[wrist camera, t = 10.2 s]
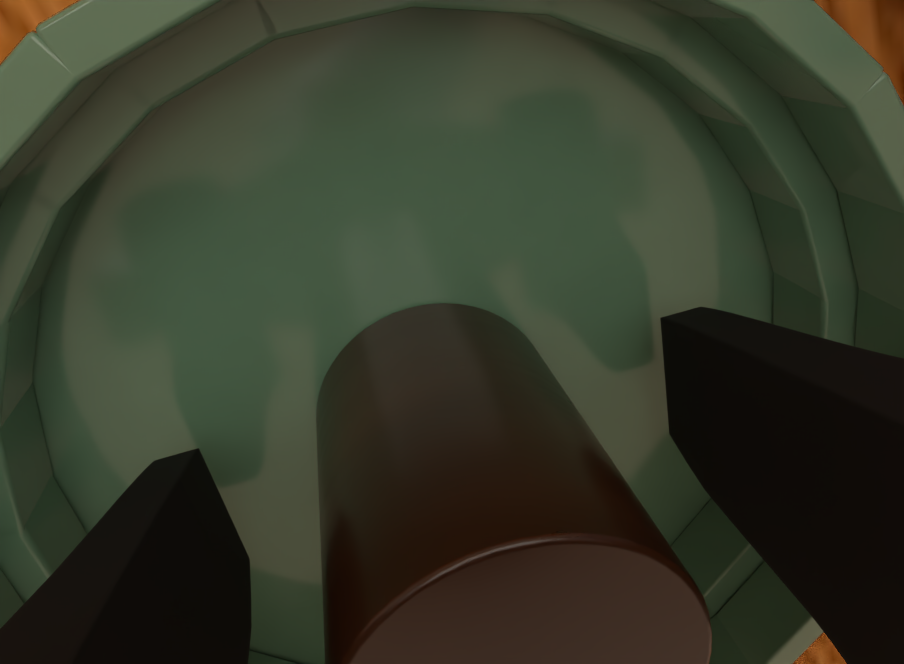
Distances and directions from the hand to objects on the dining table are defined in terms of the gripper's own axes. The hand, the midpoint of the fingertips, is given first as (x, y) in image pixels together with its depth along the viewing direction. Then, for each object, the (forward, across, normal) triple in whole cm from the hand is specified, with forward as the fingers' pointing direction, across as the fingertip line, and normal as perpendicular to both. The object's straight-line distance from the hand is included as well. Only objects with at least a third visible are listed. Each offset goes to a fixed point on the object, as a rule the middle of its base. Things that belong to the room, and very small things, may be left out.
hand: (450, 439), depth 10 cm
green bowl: (+1, 0, 0) cm, 1 cm away
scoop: (+1, 0, +3) cm, 3 cm away
